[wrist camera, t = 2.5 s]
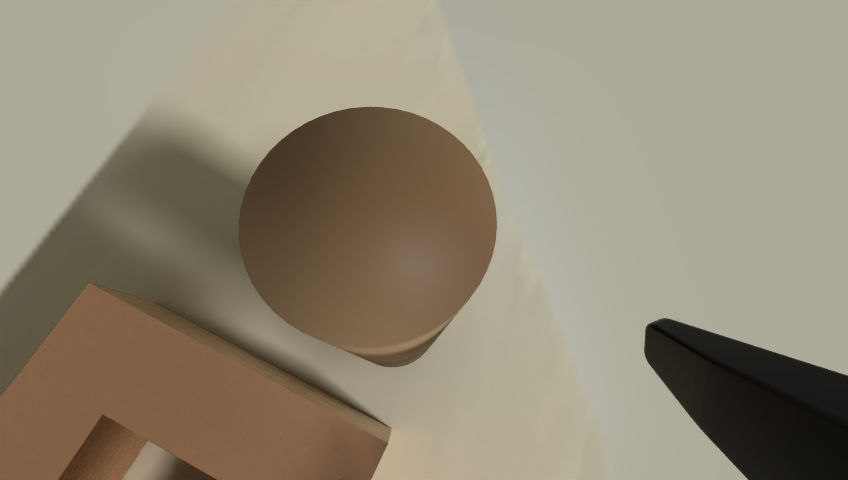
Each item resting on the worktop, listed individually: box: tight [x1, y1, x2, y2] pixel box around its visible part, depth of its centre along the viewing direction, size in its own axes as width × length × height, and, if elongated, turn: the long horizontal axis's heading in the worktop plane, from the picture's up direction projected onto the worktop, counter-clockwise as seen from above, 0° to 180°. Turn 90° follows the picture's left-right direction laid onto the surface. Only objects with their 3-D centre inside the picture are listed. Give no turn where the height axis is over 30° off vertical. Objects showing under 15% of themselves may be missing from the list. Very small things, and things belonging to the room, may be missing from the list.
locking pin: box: [239, 107, 497, 367], centre depth 13 cm, size 4×4×13 cm
